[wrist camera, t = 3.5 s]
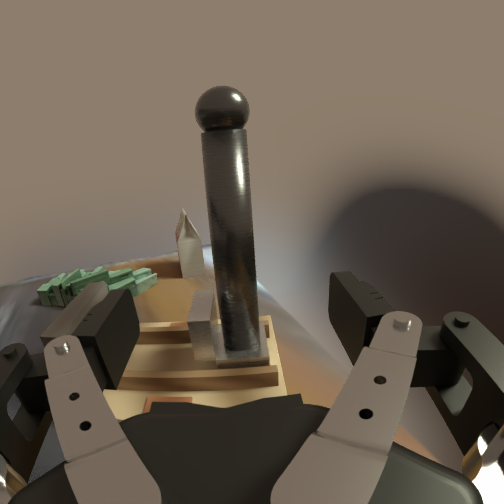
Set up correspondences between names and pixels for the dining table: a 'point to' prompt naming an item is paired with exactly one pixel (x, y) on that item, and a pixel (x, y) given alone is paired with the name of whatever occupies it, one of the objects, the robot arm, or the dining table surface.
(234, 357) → the handle
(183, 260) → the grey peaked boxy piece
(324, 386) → the dining table surface
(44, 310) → the dining table surface
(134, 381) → the press bench
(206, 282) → the dining table surface
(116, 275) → the money
